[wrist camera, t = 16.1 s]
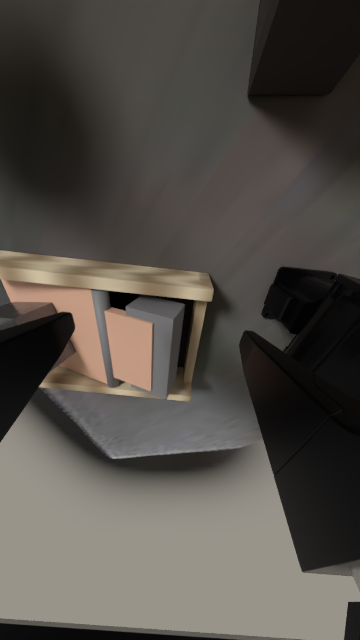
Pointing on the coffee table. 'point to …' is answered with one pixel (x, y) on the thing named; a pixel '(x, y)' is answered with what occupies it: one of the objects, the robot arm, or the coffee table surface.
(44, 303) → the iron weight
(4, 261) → the trapdoor frame
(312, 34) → the phone stand
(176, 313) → the trapdoor
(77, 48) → the coffee table surface
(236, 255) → the coffee table surface
